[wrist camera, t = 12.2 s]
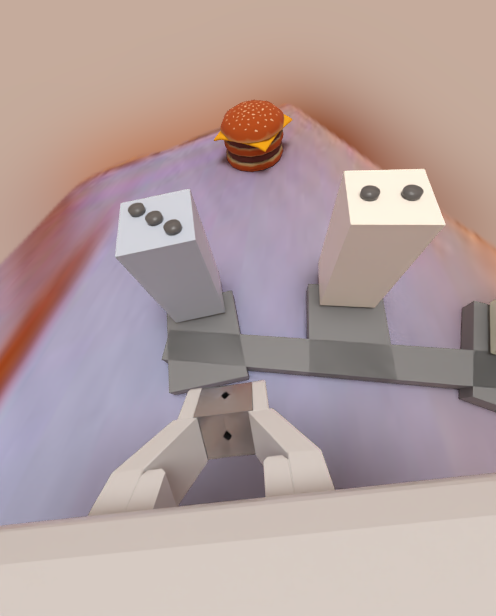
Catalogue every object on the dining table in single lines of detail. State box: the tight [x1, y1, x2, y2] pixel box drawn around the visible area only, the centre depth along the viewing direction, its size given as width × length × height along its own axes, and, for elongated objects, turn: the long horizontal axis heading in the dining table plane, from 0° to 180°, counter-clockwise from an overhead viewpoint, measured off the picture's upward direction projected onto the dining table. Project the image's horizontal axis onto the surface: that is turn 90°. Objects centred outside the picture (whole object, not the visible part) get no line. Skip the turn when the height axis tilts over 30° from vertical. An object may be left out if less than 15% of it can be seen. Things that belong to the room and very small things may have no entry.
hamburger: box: [214, 100, 292, 172], centre depth 35 cm, size 9×10×7 cm
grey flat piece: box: [162, 284, 496, 412], centre depth 21 cm, size 12×36×2 cm, turn 84°
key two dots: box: [318, 169, 445, 308], centre depth 18 cm, size 5×5×10 cm
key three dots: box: [115, 189, 225, 323], centre depth 19 cm, size 5×5×10 cm
